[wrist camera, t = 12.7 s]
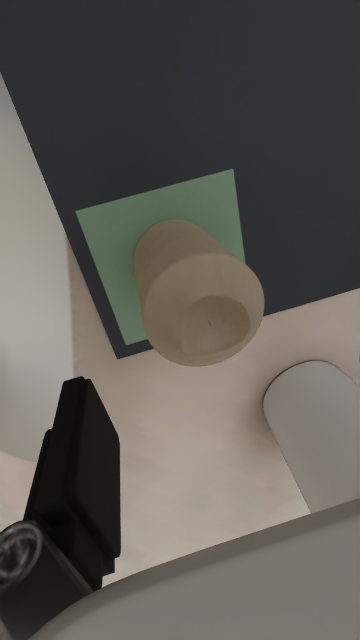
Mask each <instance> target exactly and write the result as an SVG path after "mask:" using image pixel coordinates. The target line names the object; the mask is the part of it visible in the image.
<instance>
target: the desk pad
mask: <svg viewBox="0 0 360 640" xmlns="http://www.w3.org/2000/svg"><path fill="white" fill-rule="evenodd" d="M0 72H1V74H2V77H3V79H4V82H5V84H6V87H7V89H8V92H9V94H10V97H11V99H12V102H13V104H14V106H15V109H16V111H17V114H18V116H19V119H20V121H21V124H22V126H23V128H24V131H25V133H26V136H27V138H28V141H29V143H30V146H31V148H32V151H33V153H34V156H35V158H36V160H37V163H38V165H39V168H40V170H41V173H42V175H43V178H44V180H45V183H46V185H47V187H48V190H49V192H50V195H51V197H52V200H53V202H54V205H55V207H56V210H57V212H58V215H59V217H60V220H61V222H62V224H63V227H64V229H65V232H66V234H67V237H68V239H69V242H70V244H71V247H72V249H73V251H74V254H75V256H76V259H77V261H78V264H79V266H80V269H81V271H82V274H83V276H84V279H85V281H86V283H87V286H88V288H89V291H90V293H91V296H92V298H93V301H94V303H95V306H96V308H97V310H98V313H99V315H100V318H101V320H102V323H103V325H104V328H105V330H106V333H107V335H108V337H109V340H110V342H111V345H112V347H113V350H114V352H115V355H116V357H117V359H120V358H124V357H127V356H130V355H134V354H137V353H141V352H144V351H147V350H151V349H154V348H153V346H152V345H151V344H150V342H149V340H148V338H147V336H146V333H145V331H144V326H143V321H142V315H141V308H140V302H139V296H138V289H137V283H136V277H135V271H134V254H135V249H136V247H137V244H138V242H139V240H140V239H141V237H142V236H143V234H144V233H145V232H146V231H147V230H148V229H150V228H151V227H152V226H154V225H155V224H157V223H159V222H162V221H165V220H171V219H180V220H186V221H189V222H192V223H194V224H196V225H197V226H199V227H200V228H202V229H203V230H204V231H205V232H207V233H208V234H209V235H210V236H212V237H213V238H214V239H215V240H216V241H218V242H219V243H220V244H221V245H222V246H224V247H225V248H226V249H227V250H229V251H230V252H231V253H232V254H233V255H235V256H236V257H237V258H238V259H239V260H241V261H242V262H243V263H244V264H246V265H247V266H248V267H249V268H250V269H251V270H252V271H253V272H254V273H255V275H256V276H257V278H258V280H259V282H260V284H261V286H262V290H263V293H264V313H263V316H266V315H269V314H273V313H276V312H280V311H283V310H286V309H290V308H293V307H297V306H300V305H303V304H307V303H310V302H313V301H317V300H320V299H324V298H327V297H330V296H334V295H337V294H341V293H344V292H347V291H351V290H354V289H358V288H360V0H0Z"/></svg>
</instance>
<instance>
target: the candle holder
mask: <svg viewBox="0 0 360 640" xmlns="http://www.w3.org/2000/svg"><path fill="white" fill-rule="evenodd" d="M263 412H264V415H265V418H266V420H267V423H268V425H269V427H270V429H271V431H272V433H273V436H274V438H275V440H276V442H277V444H278V446H279V448H280V450H281V452H282V454H283V456H284V458H285V461H286V463H287V465H288V467H289V469H290V471H291V473H292V475H293V477H294V479H295V481H296V483H297V485H298V487H299V489H300V492H301V494H302V496H303V498H304V500H305V502H306V504H307V506H308V508H309V510H310V512H311V514H312V513H315V512H318V511H321V510H324V509H327V508H330V507H333V506H337V505H340V504H343V503H346V502H349V501H352V500H355V499H358V498H360V385H359V384H358V383H357V382H356V381H354V380H353V379H352V378H351V377H350V376H348V375H347V374H346V373H345V372H343V371H342V370H341V369H339V368H338V367H336V366H335V365H333V364H331V363H328V362H324V361H309V362H304V363H301V364H298V365H295V366H293V367H291V368H289V369H288V370H286V371H285V372H283V373H282V374H281V375H279V376H278V377H277V378H276V379H275V380H274V381H273V383H272V384H271V385H270V387H269V388H268V390H267V392H266V394H265V397H264V400H263Z"/></svg>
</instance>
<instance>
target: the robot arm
mask: <svg viewBox="0 0 360 640" xmlns="http://www.w3.org/2000/svg"><path fill="white" fill-rule="evenodd" d="M120 552H121V526H120V443H119V437H118V434H117V432H116V430H115V428H114V426H113V424H112V422H111V420H110V418H109V416H108V414H107V411H106V409H105V407H104V405H103V403H102V401H101V399H100V397H99V395H98V393H97V391H96V389H95V387H94V385H93V383H92V381H91V380H90V379H86V380H85V378H84V377H83V376H80V377H77V378H73V379H70V380H67V381H64V382H63V385H62V390H61V394H60V398H59V402H58V407H57V411H56V416H55V419H54V424H53V428H52V429H49V430H48V431H47V432H46V433H45V436H44V439H43V443H42V447H41V451H40V455H39V459H38V463H37V467H36V471H35V474H34V478H33V482H32V486H31V490H30V494H29V498H28V502H27V506H26V510H25V514H24V518H23V520H22V521H18V522H16V523H14V524H12V525H10V526H8V527H7V528H5V529H4V530H3V531H2V532H0V640H360V498H358V499H355V500H352V501H349V502H346V503H343V504H340V505H337V506H333V507H330V508H327V509H324V510H321V511H318V512H315V513H312V514H309V515H306V516H303V517H300V518H297V519H294V520H291V521H288V522H285V523H281V524H278V525H275V526H272V527H269V528H266V529H263V530H260V531H257V532H254V533H251V534H248V535H245V536H242V537H239V538H236V539H233V540H230V541H227V542H224V543H221V544H218V545H215V546H212V547H209V548H206V549H203V550H200V551H197V552H194V553H191V554H189V555H186V556H183V557H180V558H177V559H174V560H172V561H169V562H166V563H163V564H160V565H157V566H154V567H152V568H149V569H146V570H143V571H140V572H138V573H135V574H133V575H131V576H128V577H126V578H123V579H121V580H118V581H116V582H114V583H111V584H109V585H107V586H105V587H103V588H102V578H103V576H105V575H109V574H112V573H115V558H117V557H119V556H120Z"/></svg>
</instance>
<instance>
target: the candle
mask: <svg viewBox="0 0 360 640" xmlns="http://www.w3.org/2000/svg"><path fill="white" fill-rule="evenodd" d="M134 271H135V277H136V283H137V289H138V296H139V302H140V308H141V315H142V321H143V326H144V331H145V333H146V336H147V338H148V340H149V342H150V344H151V345H152V346H153V348H154V349H155V350H156V351H157V352H158V353H159V354H160V355H162V356H163V357H164V358H166V359H168V360H170V361H172V362H174V363H177V364H181V365H185V366H207V365H212V364H216V363H219V362H222V361H224V360H226V359H228V358H230V357H232V356H233V355H235V354H236V353H238V352H239V351H240V350H241V349H243V348H244V347H245V346H246V345H247V344H248V343H249V341H250V340H251V339H252V338H253V336H254V335H255V333H256V331H257V330H258V328H259V326H260V323H261V321H262V317H263V313H264V293H263V290H262V286H261V284H260V282H259V280H258V278H257V276H256V275H255V273H254V272H253V271H252V270H251V269H250V268H249V267H248V266H247V265H246V264H244V263H243V262H242V261H241V260H239V259H238V258H237V257H236V256H235V255H233V254H232V253H231V252H230V251H229V250H227V249H226V248H225V247H224V246H222V245H221V244H220V243H219V242H218V241H216V240H215V239H214V238H213V237H212V236H210V235H209V234H208V233H207V232H205V231H204V230H203V229H202V228H200V227H199V226H197V225H196V224H194V223H192V222H189V221H186V220H180V219H171V220H165V221H162V222H159V223H157V224H155V225H154V226H152V227H151V228H150V229H148V230H147V231H146V232H145V233H144V234H143V236H142V237H141V239H140V240H139V242H138V244H137V247H136V249H135V254H134Z"/></svg>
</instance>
